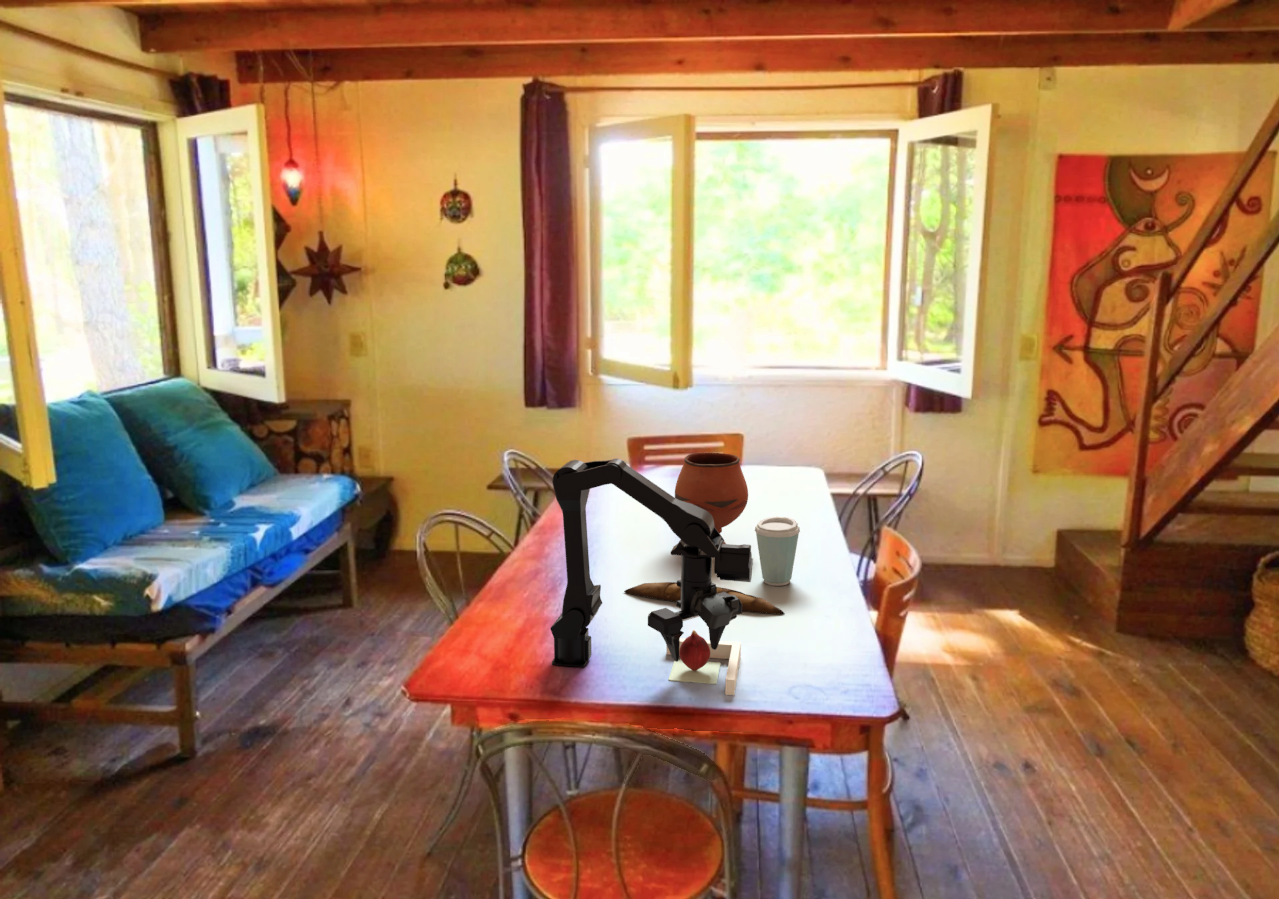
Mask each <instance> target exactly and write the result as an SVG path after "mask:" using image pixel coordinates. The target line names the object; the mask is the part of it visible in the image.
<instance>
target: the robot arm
mask: <svg viewBox="0 0 1279 899" xmlns="http://www.w3.org/2000/svg"><path fill="white" fill-rule="evenodd" d="M551 484H552V488H553V490H554V495H555V498H556V501H557V504H558V505H559V507H560V508H559V509H560V510H561V512H562V520H563V522H562V523H563V537H564V538H563V539H564V551H565V566H566V580H567V583H566V588H565V592H564V595H563V596H564V597H563V602H562V608H561V609H562V610H561V614H560V615H559V616H558V617H557V619H556V620H555V621H554V623H553V624H552V625H551V626H550V631H551V635H552V637H553V651H554V653H553V657H554V658H553V659H552V661H551V665H552V666H560V667H561V666H562V667H574V668H584V667H586V664H587V663H588V662H589V661H590V658H591V657H592V636H591V635H589V628H588V626H589V625H591V623H592V621H593V620H594V618H595V616H596V615H597V614H598V612H599V609H600V607H601V606H602V604H603V601H602V599H601V590H602V589H601V588H602V586H601V584H596V585H595V584H594V582H593V581H592V579H591V574H590V558H589V542H588V529H587V527H588V525H587V512H586V510H587V504H588V500H589V499H588V498H589V496H590V490H591V489H595V488H598V487H601V486H605V485H606V486H607V485H612V486H615V487H616V488H618V489H619V490H620V491H622V492H624V493H625V494H626V495H628V496H629V497H631V498H632V499H634V500H636V502H637V503H640V504H641V505H642V506H644V507H645V508H646V509H648V510H649V511H651V512H652V513H654V514H655V515H657V516H658V517H660V518H661V520H663V521H664V522H665V523H666V525H667V526H668V527H669V528H670V530H671V531H672V533H674V535H676V536H677V538H679V539H680V540H679V541H678V543H676V544H675V545H673V546H672V549H671V550H670V554H671V556H680V557H681V558H680V559H681V560H680V562H681V563H680V566H681V567H680V579H678V580H676V582H677V586H679V587H681V600H679V601H677V602H676V607H678V608H680V610H678V611H673V610H671V609H669V608H667V607H664V608H659V609H657V610H652V611H651V612H649V613H648V615H647V627H650V628H652V629H653V630H655V631H656V632H658V633H660V635H661V637H662V638H663V641H664V642H665V644H666V648H667V647H668V649H669V651H670V653H671V657H672V660H673V662H674V661H676V662H677V661H678V660H679V659H680V655H679V643H680V638H682V635H683V634H684V631H682V629H683V627H684V622H686V621H690V620H692V619H696V618H700V620H701V619H702V621H703V622H704V623H705V624H706V627H707V628H708V634H709V640H710V644H711V648H712V649H714V650H715V649H717V646H718V644H719V641H721V638H722V636H723V634H724V631H725V629H726V627H727V626H728V625H729V624H730V623H731V621H734V620H735V619H736V618H737V617H738V615H742V614H743V611H742V603H741V601H740V599H739V598H737V597H736V596H735V595H730V594H728V593H726V592H722V593H718V594H717V587H718V586H717V584H716V583H715V582H713V581H712V576H713V574H712V572H713V571H714V572H713V573H714V575H716V578H717V579H718V578H719V580H720V581H727V582H728V581H732V582H740V583H741V582H743V583H751V582H752V577H753V576H752V574H753V564H754V562H753V560H754V558H753V557H752V556H753V555H752V554H753V553H752V545H751V544H727V543H726V544H723V543H724V542H725V539H724V538H723V536H722V535H721V533H719V532H718V531H717V529H716V528H715V526H714V520H713V517H712V515H711V514H710V513H709V512H708V511H706V510H704V509H702V508H700V507H698V506H696V505H693V504H691V503H687V502H684V501H680V500H678V499H676V498H675V496H672V495H671V494H670V493H668V492H667V491H665V490H664V489H662V488H661V487H660V486H658V485H657V484H655V483H654V482H653V481H651V480H650V479H648V478H646V477H645V476H644V475H643V474H641V473H639V472H638V471H637V470H636V469H634V468H632V467H631V466H629V465H628V464H627V463H626V462H625V460H623V459H621V458H613V459H607V460H593V461H587V462H584V461H582V460H578V459H573V460H572V459H571V460H569V461H568V462H566V463H565V464H564V465H562V466H561V467H559V469H557V471H555V473H554V474H553V476H552V482H551ZM713 559H714V562H713ZM712 568H713V570H712Z"/></svg>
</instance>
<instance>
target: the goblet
mask: <svg viewBox="0 0 1279 899" xmlns="http://www.w3.org/2000/svg"><path fill="white" fill-rule="evenodd" d="M740 461H741V459H740V457H739V456H737V455H734V454H729V453H722V452H695V453H694V452H692V453H690V454H688V455H686V456H685V457H684V460H683V464H682V467H681V470H680V472H679V474H678V477H677V481H676V483H675V488H674V498H676V499H678V500H680V501H684V502H687V503H691V504H693V505H696V506H698V507H700V508H702V509H704V510H706V511H708V512H709V513H710V514H711V515H712V517H713V520H714V526H715V528H716V529H717V531H718V532H719V533H720V534H721V533H722V531H723V528H724V527H727V526H729V525H731V523H733V522H734V521H735V520H737V519H738V518H739V517H740V516H741V514H742V513H744V511H745V509H746V507H747V503H748V500H749V490H748V485H747V481H746V479H745V475H744V474H743V473H744V472H743V471H742V468H741V463H740ZM723 544H727V543H726V541H724V543H723Z"/></svg>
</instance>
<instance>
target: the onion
mask: <svg viewBox="0 0 1279 899" xmlns="http://www.w3.org/2000/svg"><path fill="white" fill-rule="evenodd" d="M705 640H706V639H705V638H704V637H702V636H701V635H699V634H698V633H697V631H696V630H695V629H694V630H692V632H691V634H690V635H688V636H687V637H686V639H685V640H684V641H683V643H682V644H681V646H680V655H679V659H681V660H682V662H683V663H684V664H685V665H686V666H687V667H688V668H690V669H691V670H693V671H696V670H698V669H700V668H701V667H703V666H704V665H705V664H706V663H707V662H709V660H710V659H711V658H710V648H709V646H708V644H707V642H706V641H705Z"/></svg>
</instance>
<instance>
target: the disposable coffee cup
mask: <svg viewBox="0 0 1279 899" xmlns="http://www.w3.org/2000/svg"><path fill="white" fill-rule="evenodd" d="M798 524H799V523H798V522H797V520H796V519H794V518H790V517H785V516H772V517H766V518H764V519H761V520H759V521H758V523H757V525H756V526H755V529H754V531H755V534H756V541H757V549H758V555H759V562H760V568H761V577H762V579H763V582H764V583H765V584H766V585H769V586H776V587H778V586H779V587H781V586H786V585H789V584H790V582H791V580H792V577H793V572H794V563H795V557H796V551H797V546H798V540H799V534H800V533H801V531H800V527H799V525H798Z"/></svg>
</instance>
